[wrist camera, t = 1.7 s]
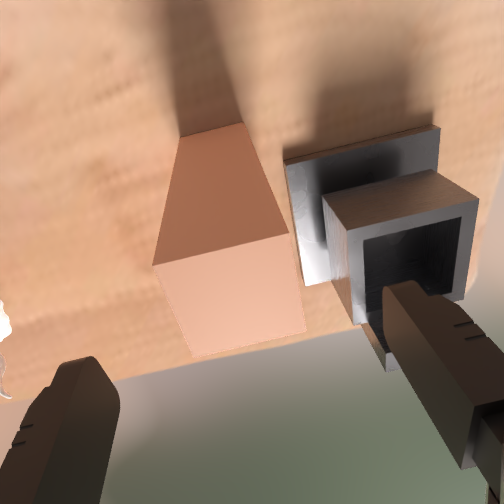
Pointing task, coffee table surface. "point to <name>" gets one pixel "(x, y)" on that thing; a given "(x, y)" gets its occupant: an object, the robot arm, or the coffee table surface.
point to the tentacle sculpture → (3, 329)
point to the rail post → (226, 247)
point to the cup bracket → (381, 224)
